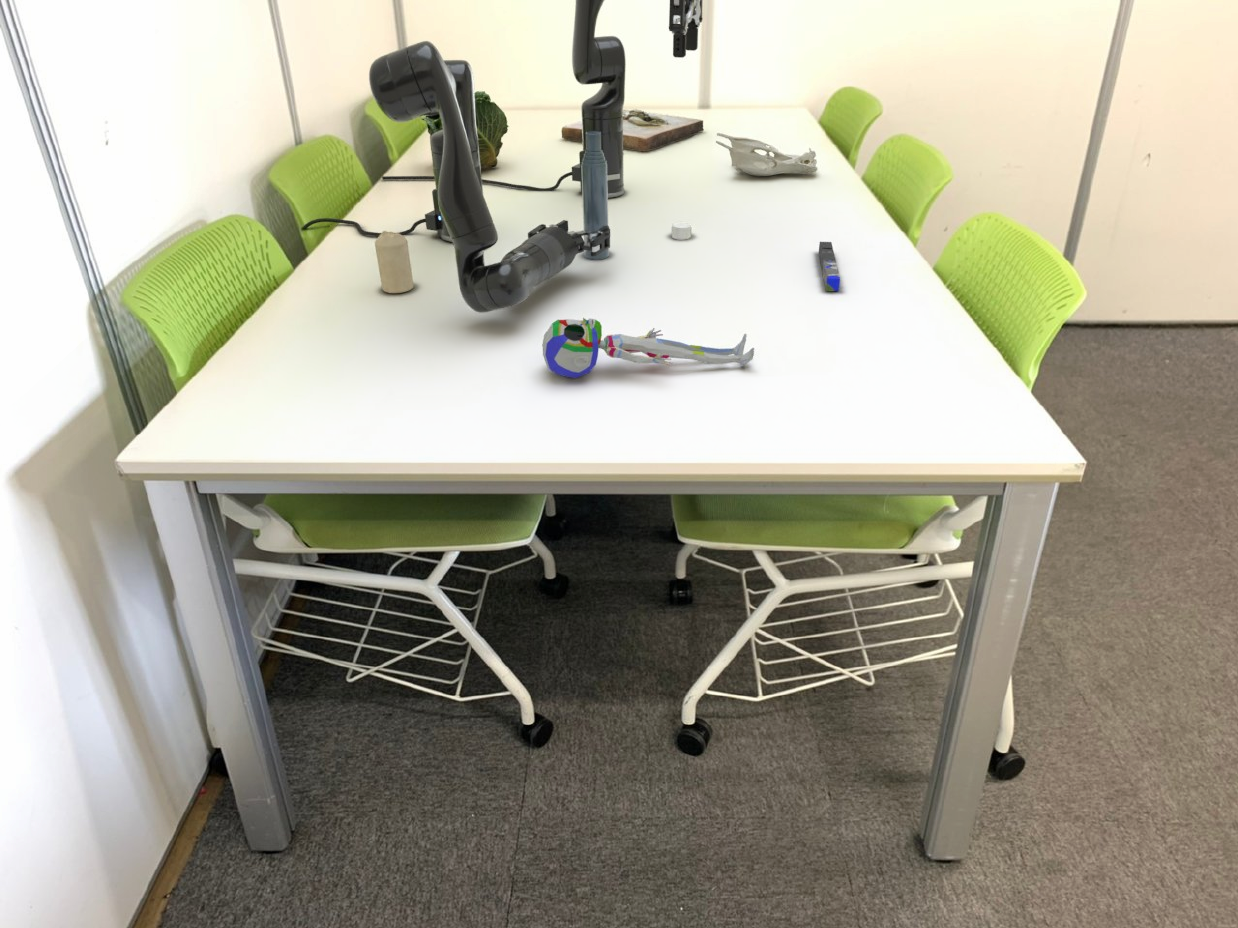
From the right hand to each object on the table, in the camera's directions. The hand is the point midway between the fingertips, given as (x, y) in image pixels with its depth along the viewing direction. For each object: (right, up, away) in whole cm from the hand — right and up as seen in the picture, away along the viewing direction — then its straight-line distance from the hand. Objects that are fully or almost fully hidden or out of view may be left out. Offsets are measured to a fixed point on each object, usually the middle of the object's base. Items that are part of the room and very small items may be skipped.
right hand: (685, 53), depth 164 cm
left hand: (-18, -31, +3) cm, 36 cm away
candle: (-52, -44, -4) cm, 68 cm away
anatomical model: (+24, -3, +58) cm, 63 cm away
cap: (0, -27, +17) cm, 32 cm away
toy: (-8, -61, -32) cm, 70 cm away
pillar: (+26, -40, 0) cm, 48 cm away
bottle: (-16, -35, +9) cm, 40 cm away
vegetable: (-50, +1, +66) cm, 83 cm away
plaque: (-8, +20, +95) cm, 98 cm away
